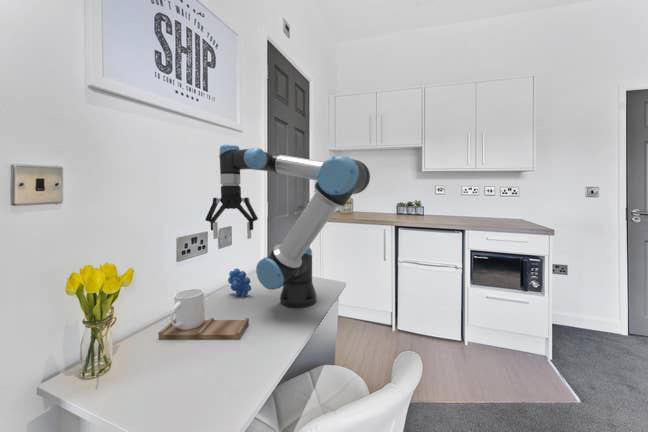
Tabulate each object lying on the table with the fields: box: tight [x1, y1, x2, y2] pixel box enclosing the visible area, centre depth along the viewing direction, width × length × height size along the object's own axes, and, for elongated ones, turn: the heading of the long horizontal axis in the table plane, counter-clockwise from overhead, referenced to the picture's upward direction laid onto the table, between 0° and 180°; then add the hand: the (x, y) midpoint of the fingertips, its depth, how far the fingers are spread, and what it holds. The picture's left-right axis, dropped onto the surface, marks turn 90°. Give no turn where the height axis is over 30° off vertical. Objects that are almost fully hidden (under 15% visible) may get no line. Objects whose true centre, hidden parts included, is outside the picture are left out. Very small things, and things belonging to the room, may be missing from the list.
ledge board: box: [158, 317, 250, 340], centre depth 90 cm, size 25×10×2 cm, turn 89°
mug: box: [170, 288, 206, 330], centre depth 90 cm, size 9×12×11 cm
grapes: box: [227, 268, 252, 297], centre depth 120 cm, size 12×7×12 cm, turn 70°
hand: (232, 238), depth 111 cm, fingers open, 13 cm apart
